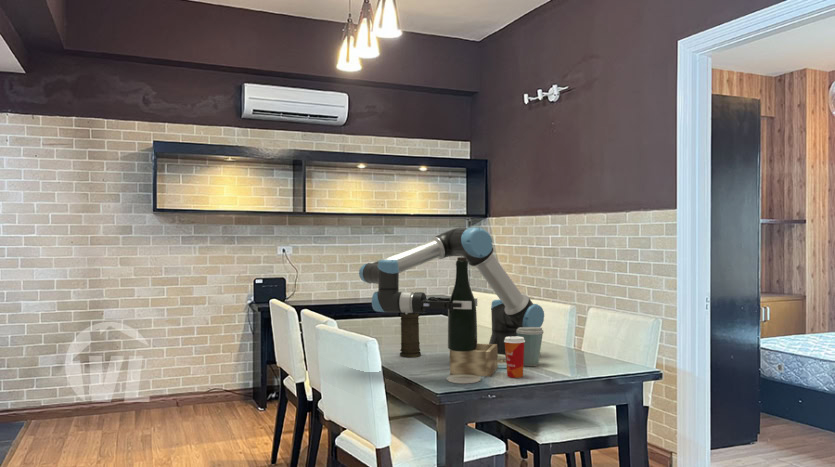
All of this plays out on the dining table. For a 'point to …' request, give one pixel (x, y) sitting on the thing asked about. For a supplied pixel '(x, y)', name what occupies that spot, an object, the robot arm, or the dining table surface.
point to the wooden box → (475, 361)
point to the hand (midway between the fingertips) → (474, 303)
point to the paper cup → (514, 356)
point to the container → (410, 335)
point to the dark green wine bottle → (462, 312)
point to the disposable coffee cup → (531, 344)
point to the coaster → (463, 378)
